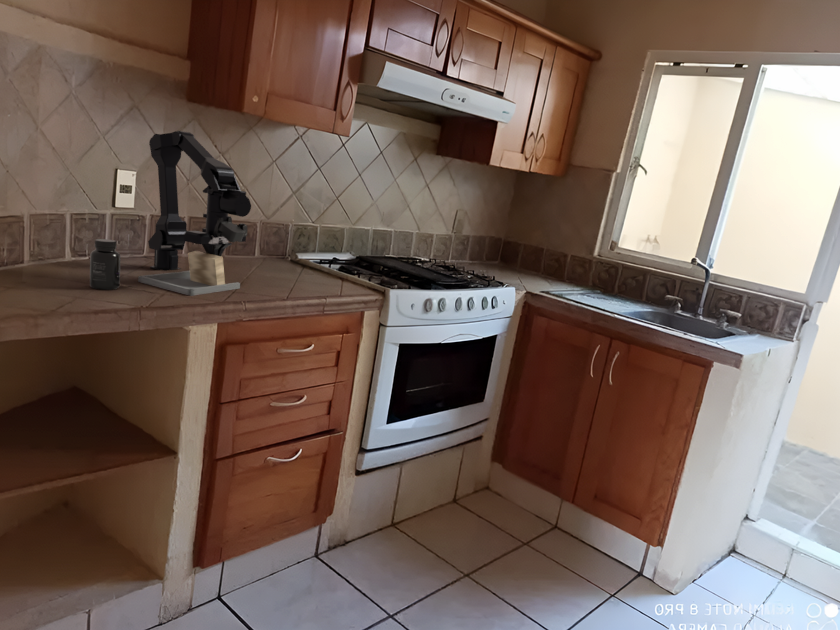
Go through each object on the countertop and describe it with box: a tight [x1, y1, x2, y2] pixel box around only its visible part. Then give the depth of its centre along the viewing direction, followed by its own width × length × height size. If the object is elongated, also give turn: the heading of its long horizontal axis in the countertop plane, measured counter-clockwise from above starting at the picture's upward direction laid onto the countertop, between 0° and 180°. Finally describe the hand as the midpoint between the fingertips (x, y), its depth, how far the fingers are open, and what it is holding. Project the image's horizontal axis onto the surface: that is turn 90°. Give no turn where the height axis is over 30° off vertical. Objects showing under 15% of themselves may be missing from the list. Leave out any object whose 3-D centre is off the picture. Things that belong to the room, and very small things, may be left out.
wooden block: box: [187, 250, 226, 286], centre depth 173 cm, size 10×3×8 cm, turn 64°
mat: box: [137, 270, 241, 297], centre depth 170 cm, size 19×18×2 cm
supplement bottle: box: [89, 238, 121, 291], centre depth 156 cm, size 7×7×12 cm
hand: (214, 266), depth 176 cm, fingers closed
